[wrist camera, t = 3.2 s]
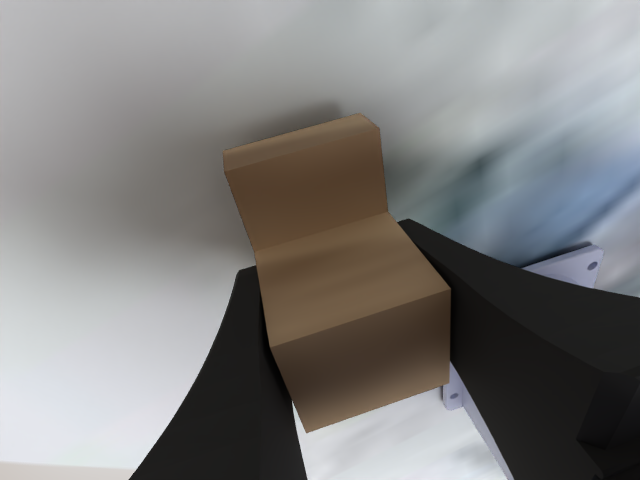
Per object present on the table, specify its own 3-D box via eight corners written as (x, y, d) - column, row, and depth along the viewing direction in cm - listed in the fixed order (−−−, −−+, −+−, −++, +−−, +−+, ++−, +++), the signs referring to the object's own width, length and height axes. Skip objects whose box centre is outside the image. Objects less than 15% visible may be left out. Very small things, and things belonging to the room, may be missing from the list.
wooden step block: (380, 271, 14) (449, 383, 10) (278, 303, 14) (306, 433, 10) (360, 112, 11) (452, 185, 7) (222, 150, 10) (229, 252, 6)
